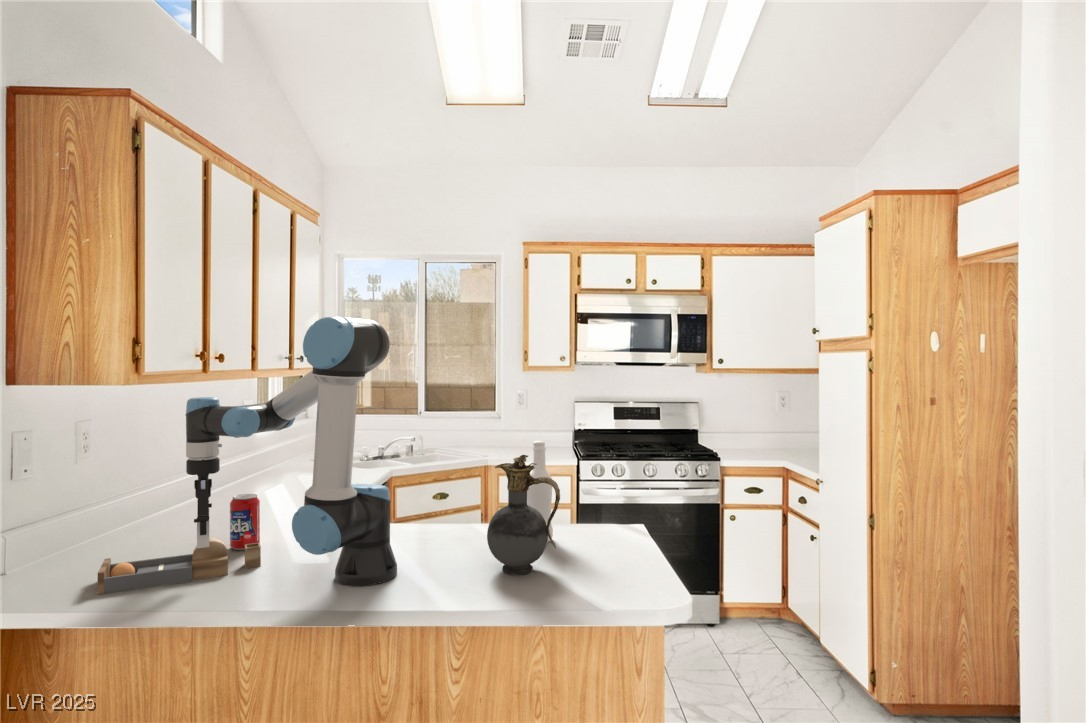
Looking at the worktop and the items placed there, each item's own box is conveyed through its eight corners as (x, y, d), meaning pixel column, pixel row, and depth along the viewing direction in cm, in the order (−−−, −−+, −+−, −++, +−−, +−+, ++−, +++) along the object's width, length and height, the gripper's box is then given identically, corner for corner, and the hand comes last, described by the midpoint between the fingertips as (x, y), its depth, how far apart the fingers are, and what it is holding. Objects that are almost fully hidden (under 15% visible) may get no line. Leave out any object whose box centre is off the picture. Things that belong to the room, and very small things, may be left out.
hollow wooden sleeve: (260, 566, 167) (260, 546, 167) (245, 568, 166) (245, 548, 166) (259, 562, 171) (259, 542, 171) (244, 564, 169) (244, 544, 169)
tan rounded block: (227, 574, 161) (227, 543, 161) (191, 579, 157) (191, 547, 157) (226, 563, 170) (226, 533, 170) (192, 567, 166) (192, 537, 166)
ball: (122, 561, 153) (103, 577, 151) (138, 575, 154) (120, 591, 152) (125, 555, 157) (106, 571, 155) (140, 569, 159) (122, 584, 157)
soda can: (265, 544, 186) (265, 493, 186) (246, 552, 179) (246, 499, 179) (243, 542, 188) (243, 492, 188) (223, 550, 181) (223, 498, 181)
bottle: (556, 542, 189) (557, 442, 189) (531, 545, 186) (531, 443, 186) (546, 535, 197) (546, 438, 196) (522, 538, 194) (522, 440, 193)
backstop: (103, 593, 148) (103, 572, 148) (97, 594, 148) (97, 573, 148) (110, 578, 158) (110, 558, 158) (104, 578, 158) (104, 558, 158)
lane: (191, 580, 157) (191, 566, 157) (103, 593, 148) (103, 578, 148) (192, 566, 167) (192, 553, 167) (110, 578, 158) (110, 564, 158)
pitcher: (495, 561, 172) (495, 450, 172) (564, 566, 168) (564, 453, 167) (482, 574, 161) (482, 457, 161) (555, 581, 157) (555, 460, 157)
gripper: (220, 464, 153) (220, 551, 153) (218, 450, 175) (219, 526, 176) (184, 466, 150) (185, 556, 150) (187, 451, 172) (188, 530, 172)
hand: (203, 540), depth 163 cm, fingers open, 13 cm apart
